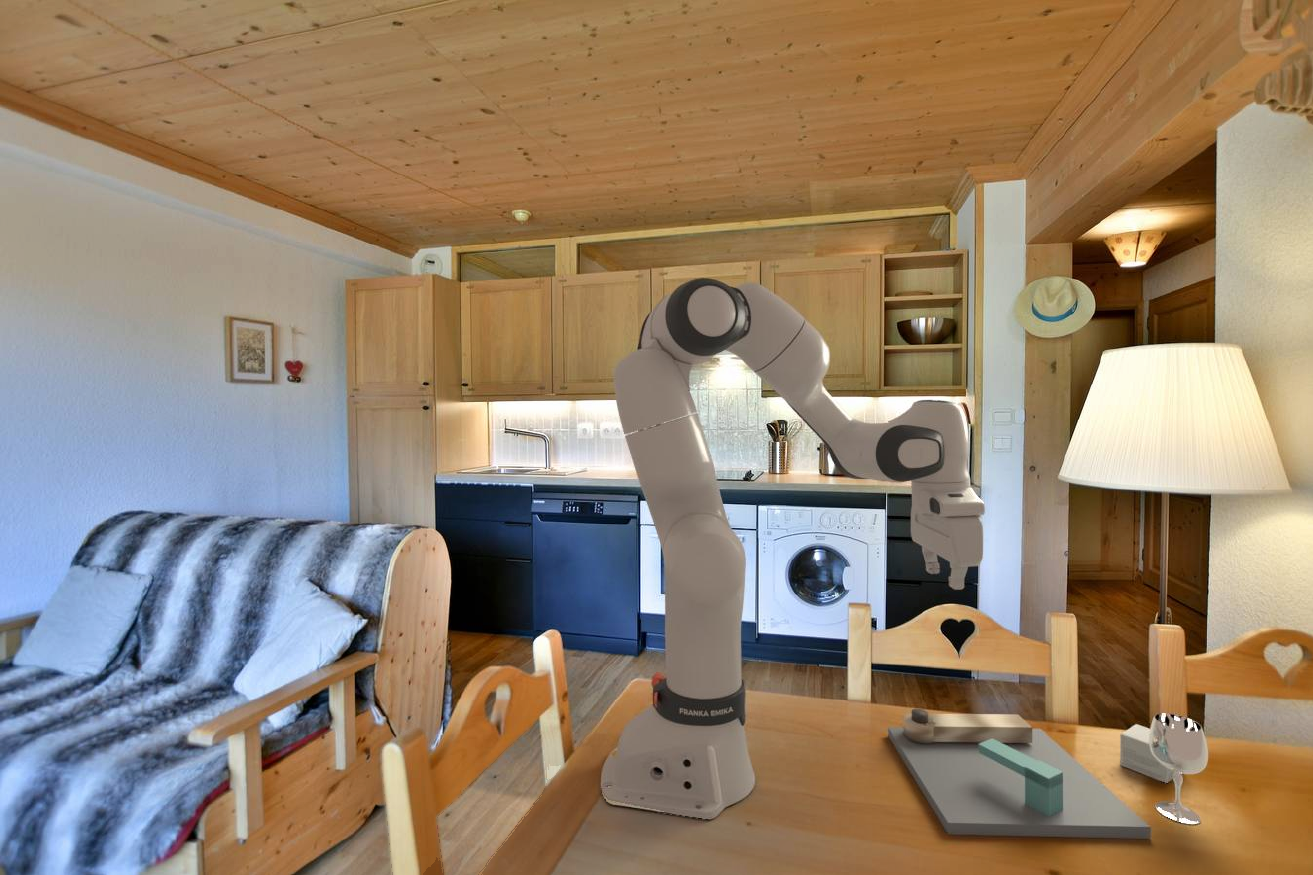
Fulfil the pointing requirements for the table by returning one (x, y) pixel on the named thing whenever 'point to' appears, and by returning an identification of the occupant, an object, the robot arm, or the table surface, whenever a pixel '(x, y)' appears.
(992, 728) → the link
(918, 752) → the base board
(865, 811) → the table surface
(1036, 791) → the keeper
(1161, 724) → the wineglass
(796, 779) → the table surface
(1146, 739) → the small box
